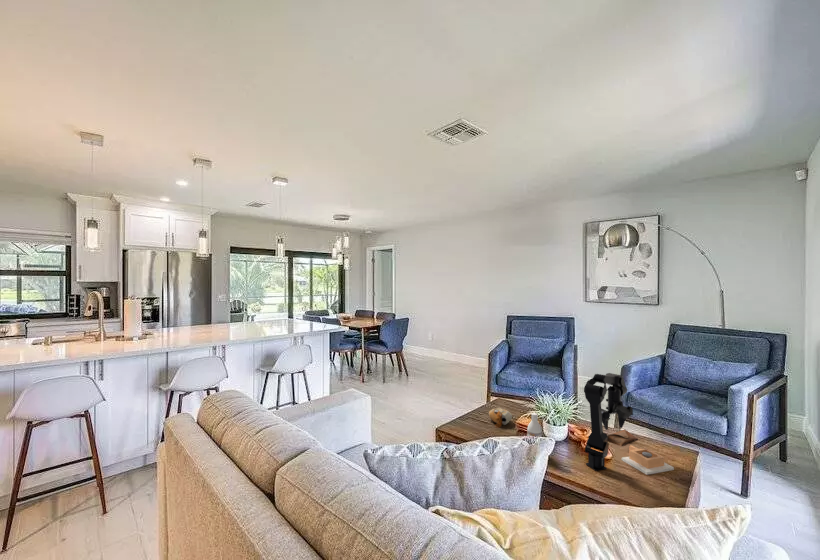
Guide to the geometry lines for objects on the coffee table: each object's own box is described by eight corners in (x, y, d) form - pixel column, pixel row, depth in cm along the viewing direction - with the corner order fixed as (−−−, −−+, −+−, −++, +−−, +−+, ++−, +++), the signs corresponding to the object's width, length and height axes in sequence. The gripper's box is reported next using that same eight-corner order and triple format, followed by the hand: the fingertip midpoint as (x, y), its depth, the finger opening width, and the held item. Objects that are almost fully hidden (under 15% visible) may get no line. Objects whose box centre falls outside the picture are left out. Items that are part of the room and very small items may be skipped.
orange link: (647, 468, 173) (647, 460, 173) (622, 454, 186) (622, 446, 186) (664, 465, 176) (664, 457, 176) (638, 452, 189) (638, 444, 189)
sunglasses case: (621, 446, 198) (615, 433, 200) (610, 448, 203) (604, 436, 206) (639, 438, 207) (632, 426, 210) (627, 441, 212) (621, 429, 215)
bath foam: (524, 451, 192) (524, 412, 192) (534, 448, 195) (535, 410, 195) (533, 457, 186) (534, 417, 186) (544, 454, 189) (544, 415, 188)
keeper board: (646, 474, 170) (646, 463, 170) (621, 460, 183) (621, 449, 183) (673, 469, 174) (673, 458, 174) (647, 455, 188) (647, 445, 188)
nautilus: (505, 433, 215) (480, 429, 223) (515, 418, 233) (492, 415, 241) (504, 420, 215) (480, 416, 223) (515, 406, 233) (491, 403, 241)
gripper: (611, 405, 181) (611, 437, 181) (642, 401, 186) (641, 433, 187) (594, 398, 192) (594, 428, 192) (623, 395, 197) (623, 424, 197)
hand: (613, 428), depth 192 cm, fingers open, 9 cm apart
